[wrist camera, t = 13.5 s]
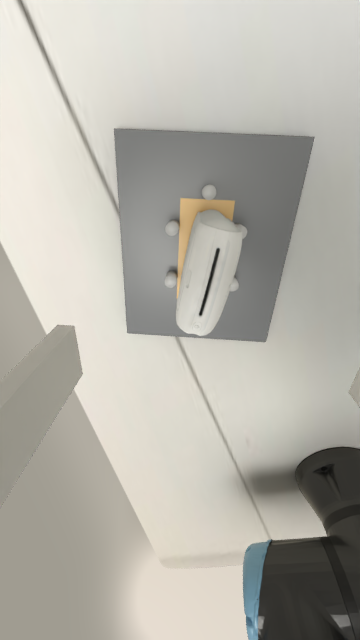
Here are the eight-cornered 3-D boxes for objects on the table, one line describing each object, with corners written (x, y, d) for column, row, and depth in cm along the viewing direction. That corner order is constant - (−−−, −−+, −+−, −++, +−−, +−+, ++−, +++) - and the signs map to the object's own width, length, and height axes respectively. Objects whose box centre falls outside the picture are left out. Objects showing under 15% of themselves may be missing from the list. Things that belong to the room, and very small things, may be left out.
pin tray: (309, 139, 26) (326, 131, 22) (263, 337, 37) (270, 352, 34) (117, 131, 26) (106, 122, 23) (129, 329, 37) (122, 342, 34)
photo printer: (209, 296, 33) (216, 350, 22) (177, 289, 33) (168, 340, 22) (233, 213, 28) (257, 229, 17) (196, 205, 28) (196, 214, 17)
